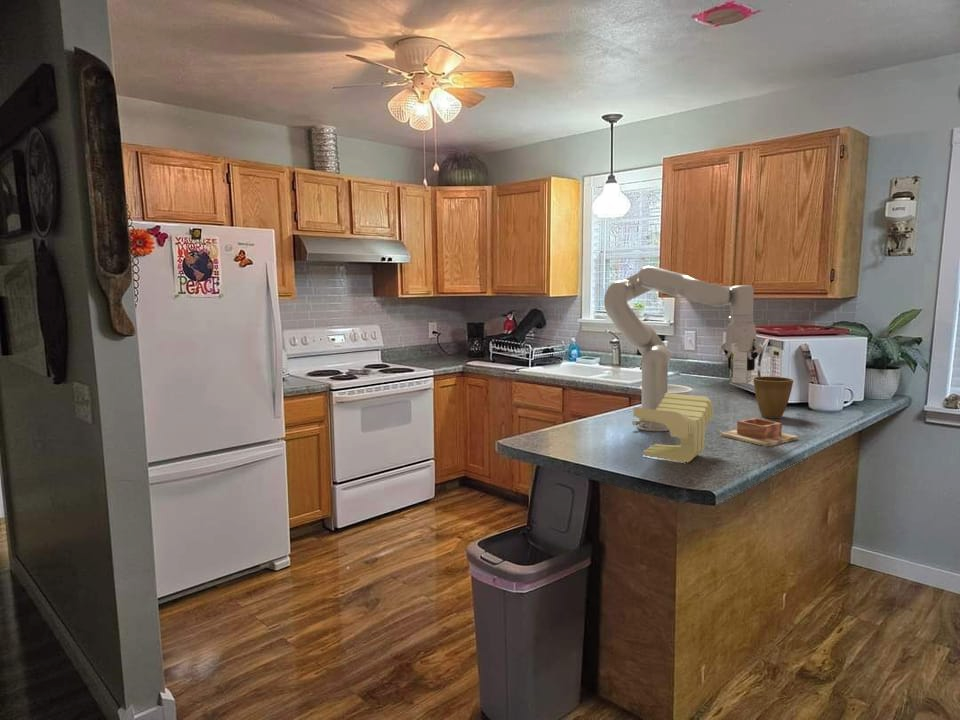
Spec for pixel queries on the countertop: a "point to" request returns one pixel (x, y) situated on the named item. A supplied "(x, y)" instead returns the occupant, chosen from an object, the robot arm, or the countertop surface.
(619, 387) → the countertop surface
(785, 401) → the plant pot
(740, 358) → the syrup box
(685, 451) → the slatted curved stool
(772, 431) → the terracotta box on board
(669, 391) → the soup bowl
